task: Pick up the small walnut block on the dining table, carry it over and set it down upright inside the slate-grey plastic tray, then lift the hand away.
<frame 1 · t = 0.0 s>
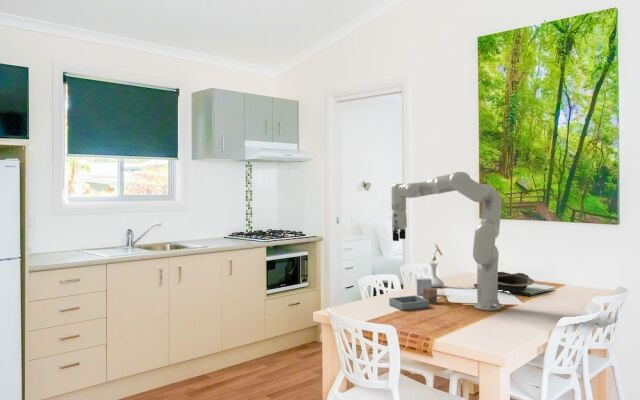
hand: (399, 239, 279), 31 cm above the table, tool pointing down, fingers open, 9 cm apart
stone bowl: (510, 291, 295), on the table
tray: (409, 306, 263), on the table
flower in vase: (434, 286, 311), on the table
walnut block: (430, 302, 271), on the table
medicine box: (424, 295, 289), on the table
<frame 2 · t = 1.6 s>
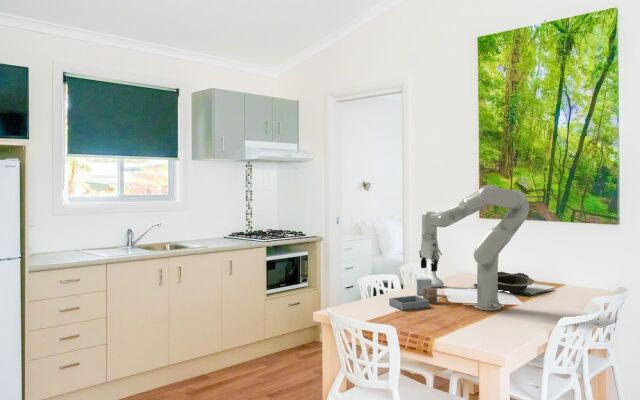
hand: (428, 269, 270), 17 cm above the table, tool pointing down, fingers open, 9 cm apart
nothing on the table moved.
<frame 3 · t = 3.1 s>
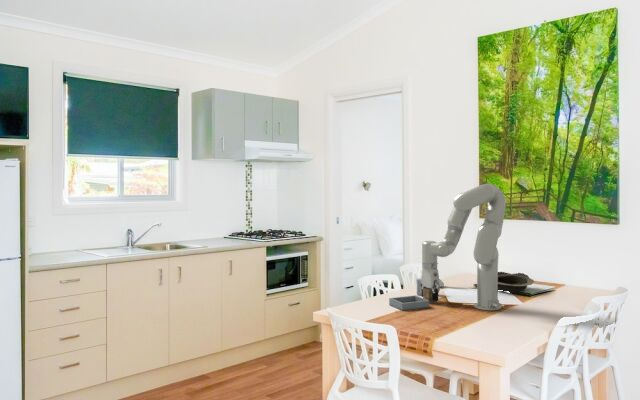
hand: (430, 298, 271), 2 cm above the table, tool pointing down, fingers open, 9 cm apart
nothing on the table moved.
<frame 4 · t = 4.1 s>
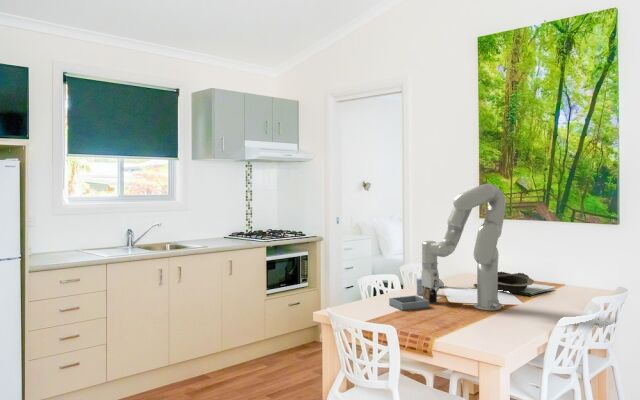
hand: (429, 300, 271), 1 cm above the table, tool pointing down, fingers closed on walnut block, 5 cm apart
walnut block: (430, 302, 271), on the table, touching gripper
everything else where it was.
when the fingers open (3 cm above the table, at t = 10.2 s): walnut block drops 1 cm, resting on tray.
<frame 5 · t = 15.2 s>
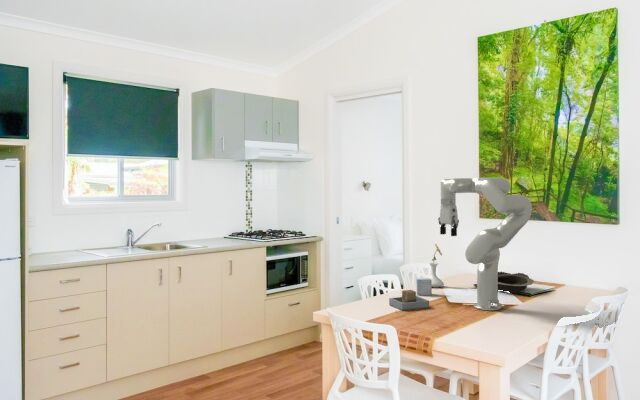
hand: (448, 235, 278), 33 cm above the table, tool pointing down, fingers open, 9 cm apart
walnut block: (409, 305, 263), point 1 cm above the table, touching tray
everything else where it was.
at the end: walnut block inside the target area on the tray (0.0 cm from its centre), point 0.6 cm above the tray's base; walnut block tilted 0°; the gripper is holding nothing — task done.
